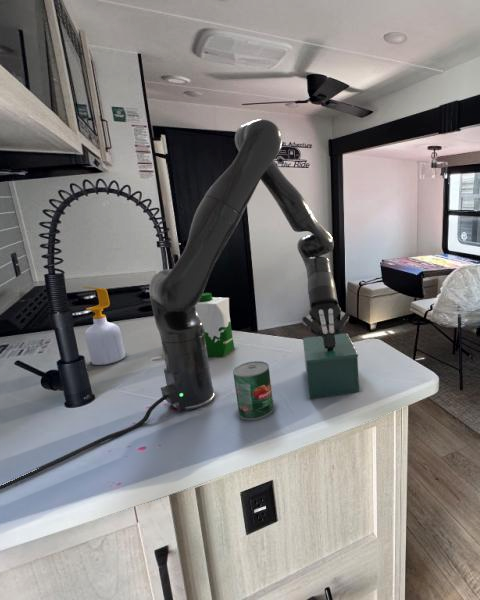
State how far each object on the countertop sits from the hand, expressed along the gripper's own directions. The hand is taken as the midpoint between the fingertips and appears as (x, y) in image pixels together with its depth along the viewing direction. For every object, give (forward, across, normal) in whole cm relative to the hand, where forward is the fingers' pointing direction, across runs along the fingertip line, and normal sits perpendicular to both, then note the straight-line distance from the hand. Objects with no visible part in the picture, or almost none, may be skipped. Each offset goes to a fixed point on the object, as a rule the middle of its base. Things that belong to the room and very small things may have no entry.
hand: (330, 348), depth 97 cm
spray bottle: (-22, -68, +38) cm, 81 cm away
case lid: (-2, 0, +4) cm, 4 cm away
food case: (+5, 0, +11) cm, 12 cm away
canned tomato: (+12, -19, +4) cm, 23 cm away
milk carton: (-18, -33, +34) cm, 51 cm away
